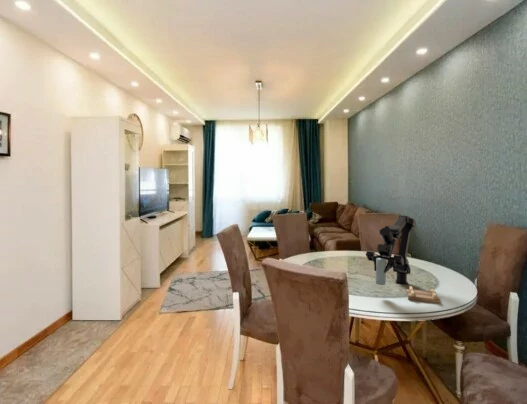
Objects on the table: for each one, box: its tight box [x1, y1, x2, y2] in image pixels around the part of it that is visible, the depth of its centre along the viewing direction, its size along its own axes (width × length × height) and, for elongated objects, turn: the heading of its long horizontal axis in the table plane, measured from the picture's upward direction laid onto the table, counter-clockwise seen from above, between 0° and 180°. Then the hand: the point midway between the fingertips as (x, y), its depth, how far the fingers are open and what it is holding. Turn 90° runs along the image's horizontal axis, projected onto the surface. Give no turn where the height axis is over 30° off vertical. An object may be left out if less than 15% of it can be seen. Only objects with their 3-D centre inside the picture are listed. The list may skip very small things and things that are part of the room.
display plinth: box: [405, 285, 440, 304], centre depth 167 cm, size 12×14×4 cm
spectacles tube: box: [375, 258, 387, 286], centre depth 168 cm, size 5×5×13 cm
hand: (379, 271), depth 167 cm, fingers closed on spectacles tube, 5 cm apart
